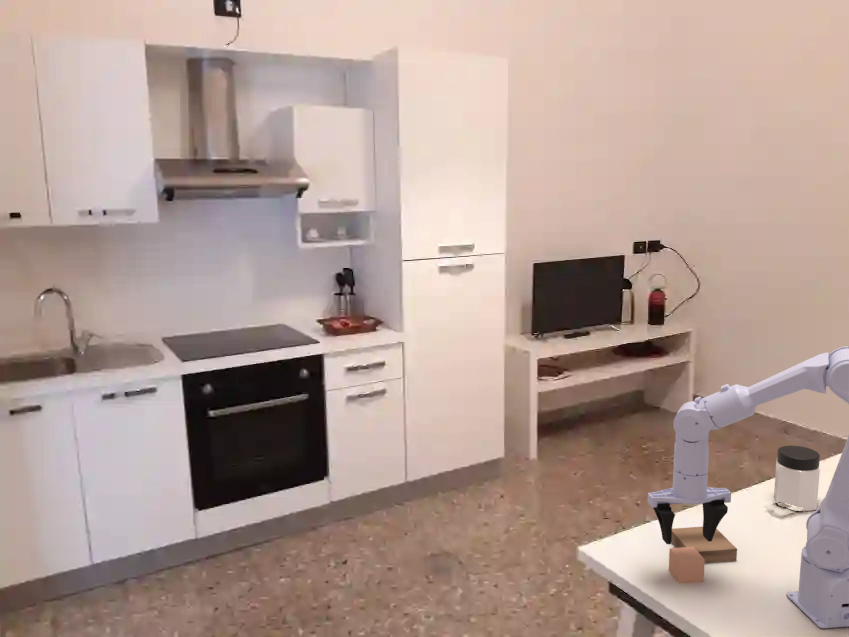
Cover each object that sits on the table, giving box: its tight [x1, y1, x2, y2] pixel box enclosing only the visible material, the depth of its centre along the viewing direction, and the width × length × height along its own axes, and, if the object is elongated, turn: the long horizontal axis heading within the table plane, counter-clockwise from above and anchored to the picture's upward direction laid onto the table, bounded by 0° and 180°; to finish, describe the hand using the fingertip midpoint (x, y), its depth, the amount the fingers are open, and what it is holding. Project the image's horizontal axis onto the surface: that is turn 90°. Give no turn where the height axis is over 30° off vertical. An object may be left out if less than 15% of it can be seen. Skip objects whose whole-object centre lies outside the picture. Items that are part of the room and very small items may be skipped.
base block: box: [671, 526, 738, 564], centre depth 134 cm, size 9×9×2 cm
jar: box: [773, 445, 821, 512], centre depth 151 cm, size 9×8×12 cm
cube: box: [668, 547, 706, 585], centre depth 126 cm, size 4×4×4 cm
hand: (687, 540), depth 125 cm, fingers open, 7 cm apart
